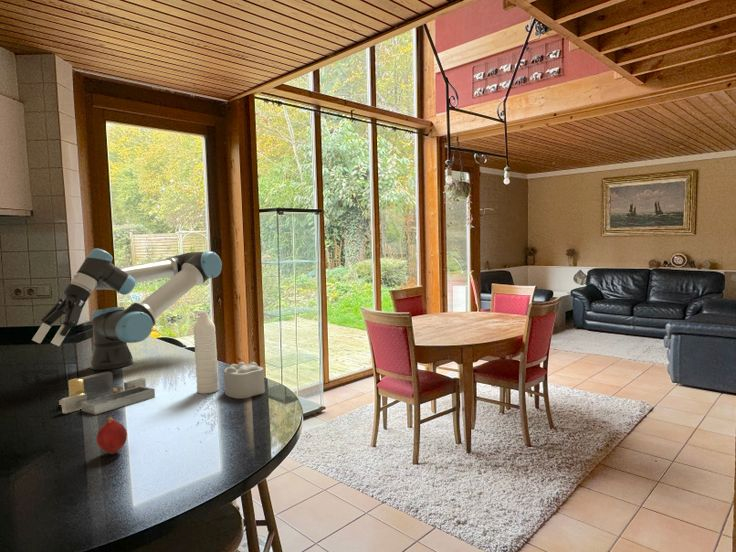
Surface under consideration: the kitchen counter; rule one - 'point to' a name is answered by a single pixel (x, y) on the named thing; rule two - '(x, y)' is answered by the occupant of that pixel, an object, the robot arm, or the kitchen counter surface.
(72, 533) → the kitchen counter surface
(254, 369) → the lumpy-topped squat cylinder
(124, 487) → the kitchen counter surface
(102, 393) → the lock bar
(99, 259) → the robot arm
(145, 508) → the kitchen counter surface
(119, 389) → the door board
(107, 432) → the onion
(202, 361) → the water bottle
